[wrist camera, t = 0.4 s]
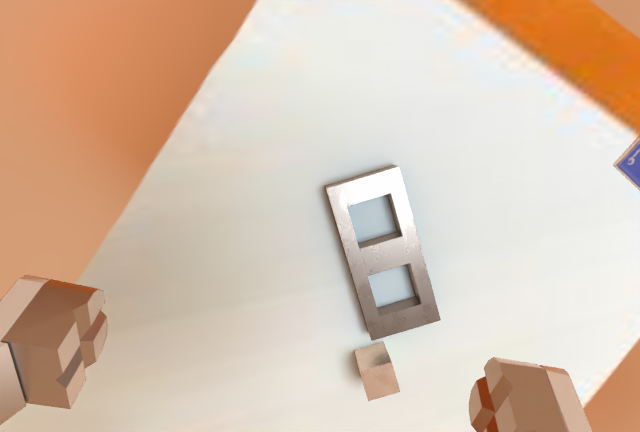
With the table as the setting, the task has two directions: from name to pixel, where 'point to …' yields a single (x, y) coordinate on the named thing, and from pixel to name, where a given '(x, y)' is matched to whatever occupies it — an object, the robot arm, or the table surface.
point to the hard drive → (630, 163)
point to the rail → (384, 252)
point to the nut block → (376, 371)
